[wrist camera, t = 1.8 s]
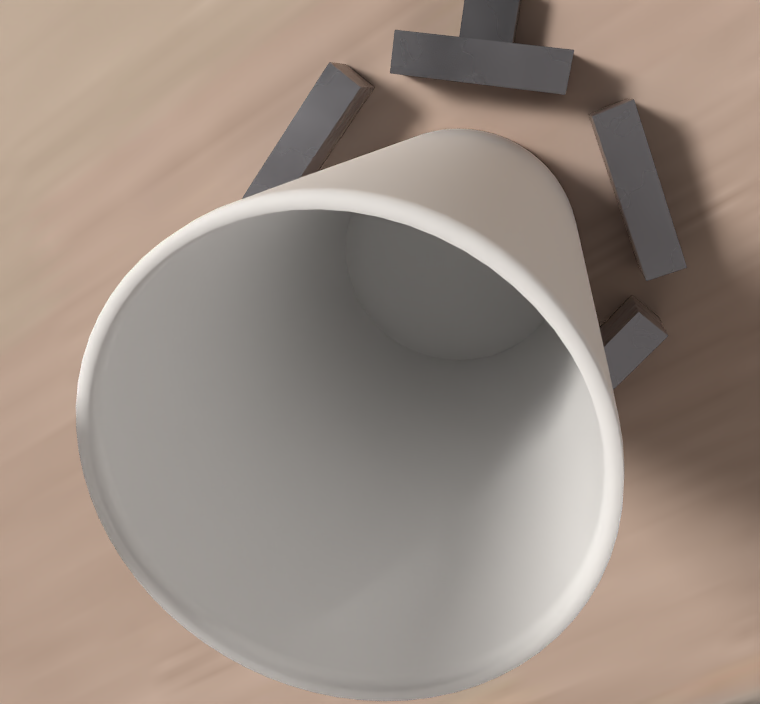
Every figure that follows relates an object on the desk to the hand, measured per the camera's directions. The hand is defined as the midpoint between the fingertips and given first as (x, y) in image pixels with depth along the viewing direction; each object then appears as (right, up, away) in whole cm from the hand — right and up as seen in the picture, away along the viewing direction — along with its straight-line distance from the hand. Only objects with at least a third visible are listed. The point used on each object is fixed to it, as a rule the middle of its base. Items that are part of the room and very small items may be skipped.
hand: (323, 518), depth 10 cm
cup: (+3, +6, +15) cm, 17 cm away
